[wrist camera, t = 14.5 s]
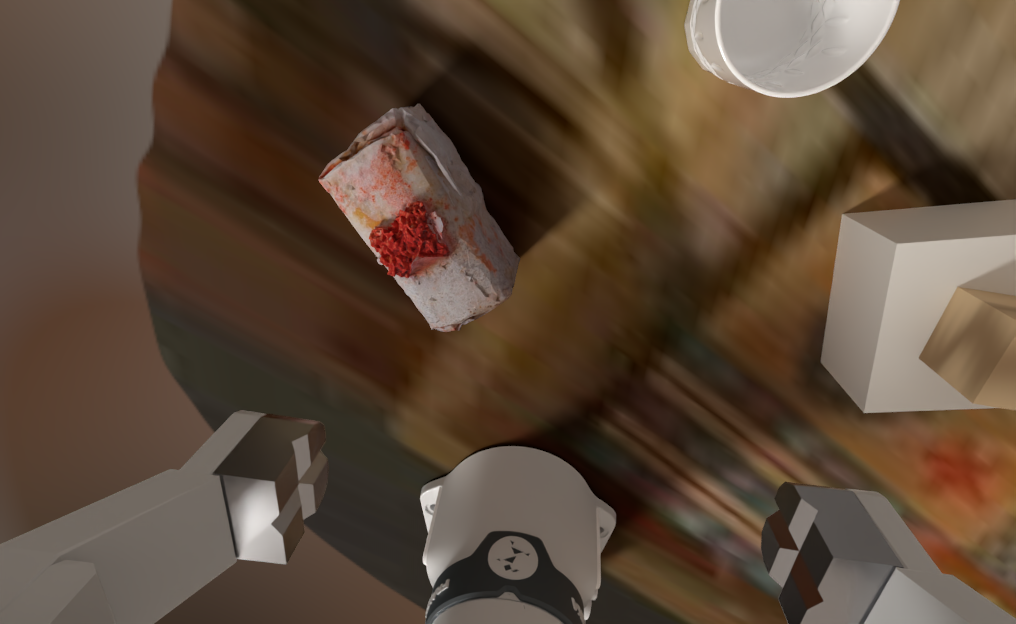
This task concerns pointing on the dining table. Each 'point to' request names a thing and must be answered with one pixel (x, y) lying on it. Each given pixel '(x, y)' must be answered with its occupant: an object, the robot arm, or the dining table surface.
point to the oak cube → (977, 347)
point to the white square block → (909, 296)
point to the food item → (424, 217)
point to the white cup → (786, 41)
